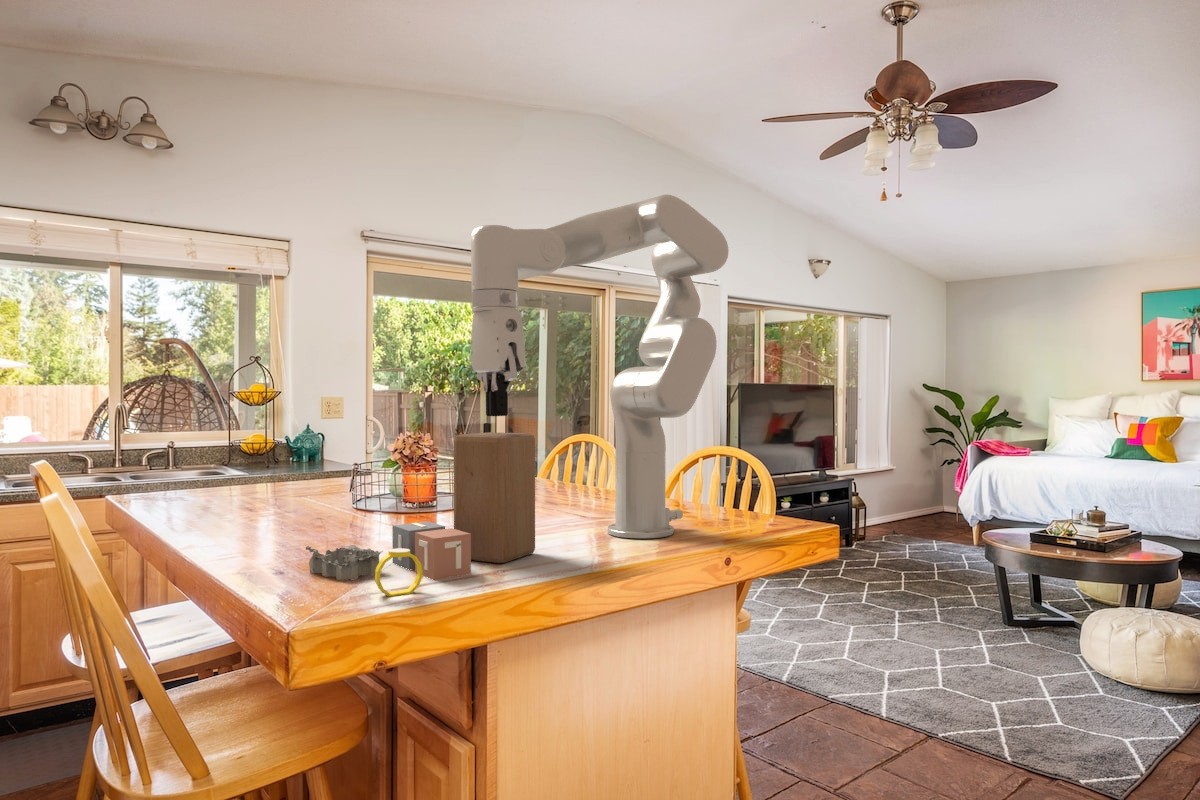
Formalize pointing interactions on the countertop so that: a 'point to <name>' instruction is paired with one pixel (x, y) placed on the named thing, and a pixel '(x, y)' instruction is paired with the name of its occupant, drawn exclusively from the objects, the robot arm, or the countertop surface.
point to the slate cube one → (409, 540)
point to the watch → (398, 553)
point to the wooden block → (495, 494)
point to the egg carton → (344, 562)
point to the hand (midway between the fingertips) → (496, 415)
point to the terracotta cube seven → (443, 553)
